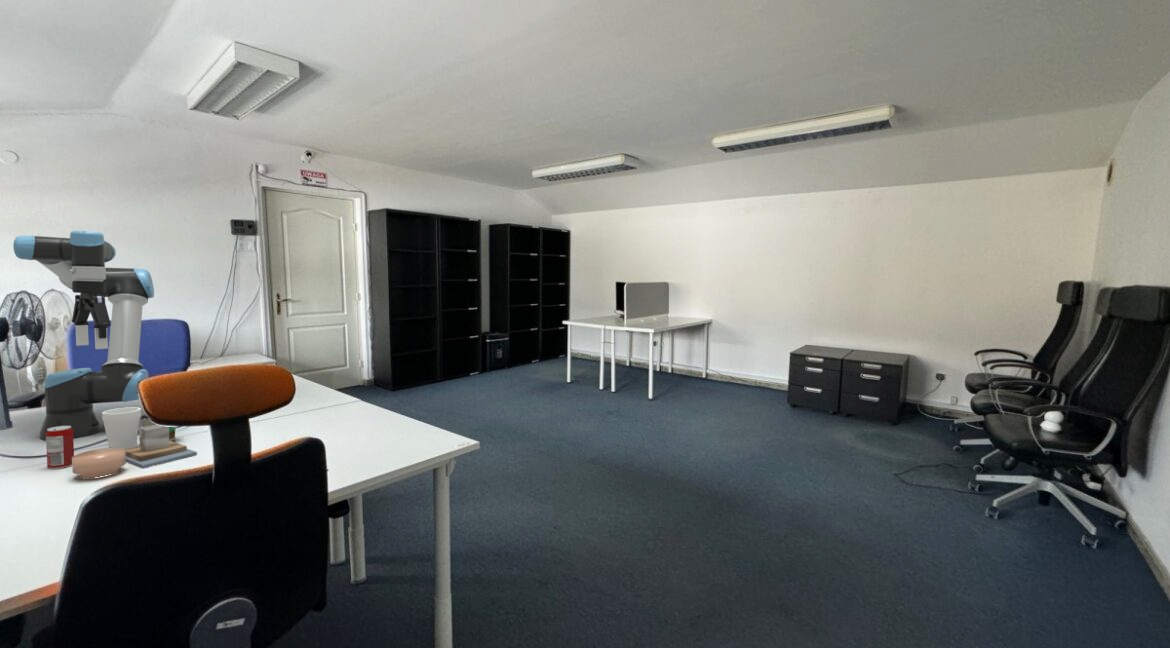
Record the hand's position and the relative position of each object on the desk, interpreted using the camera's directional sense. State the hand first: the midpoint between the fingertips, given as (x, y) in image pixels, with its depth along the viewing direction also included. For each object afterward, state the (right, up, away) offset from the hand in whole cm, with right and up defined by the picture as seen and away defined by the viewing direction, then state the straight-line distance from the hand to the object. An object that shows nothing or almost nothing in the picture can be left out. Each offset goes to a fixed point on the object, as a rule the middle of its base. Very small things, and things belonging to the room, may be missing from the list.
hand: (91, 347), depth 155 cm
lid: (+19, -34, +2) cm, 39 cm away
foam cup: (+3, -35, +7) cm, 35 cm away
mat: (+19, -35, +2) cm, 40 cm away
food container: (+9, -34, +17) cm, 39 cm away
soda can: (0, -36, -9) cm, 37 cm away
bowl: (+16, -36, -14) cm, 42 cm away
